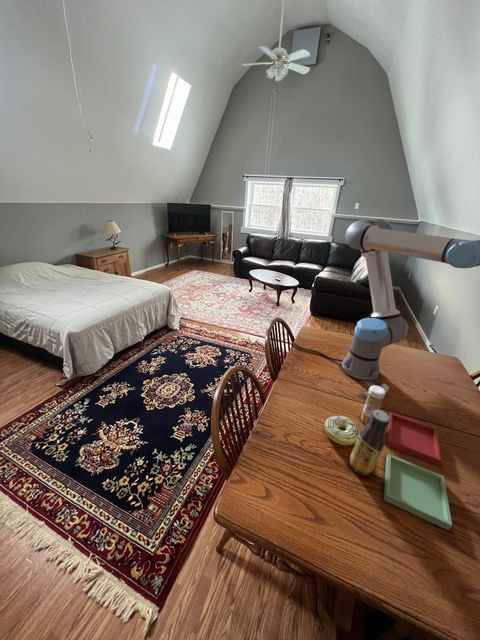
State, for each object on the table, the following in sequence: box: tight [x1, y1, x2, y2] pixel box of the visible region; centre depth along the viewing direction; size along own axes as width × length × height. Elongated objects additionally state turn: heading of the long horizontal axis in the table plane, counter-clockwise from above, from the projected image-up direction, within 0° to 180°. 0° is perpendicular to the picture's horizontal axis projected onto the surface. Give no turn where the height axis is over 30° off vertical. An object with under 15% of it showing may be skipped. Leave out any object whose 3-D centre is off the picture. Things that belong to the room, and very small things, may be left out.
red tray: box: [386, 412, 442, 466], centre depth 85 cm, size 14×14×2 cm
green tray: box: [383, 453, 453, 531], centre depth 70 cm, size 14×14×2 cm
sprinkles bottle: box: [360, 385, 386, 425], centre depth 89 cm, size 5×5×14 cm
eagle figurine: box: [359, 377, 390, 400], centre depth 103 cm, size 8×7×9 cm
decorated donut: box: [323, 415, 361, 447], centre depth 85 cm, size 10×11×4 cm
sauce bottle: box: [349, 409, 390, 476], centre depth 71 cm, size 6×6×20 cm
